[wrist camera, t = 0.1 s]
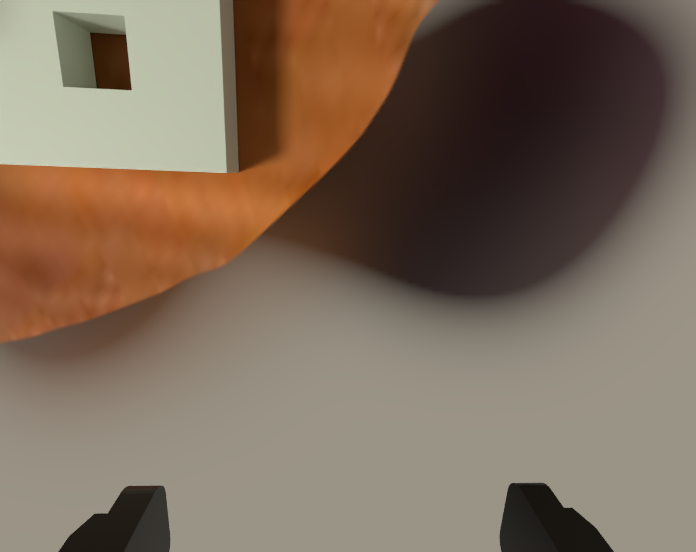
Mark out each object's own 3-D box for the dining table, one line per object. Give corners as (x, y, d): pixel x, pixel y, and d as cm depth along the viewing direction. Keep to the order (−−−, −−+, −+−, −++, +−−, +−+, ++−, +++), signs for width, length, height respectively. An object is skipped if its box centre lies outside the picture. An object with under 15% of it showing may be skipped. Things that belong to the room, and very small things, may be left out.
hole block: (-12, -57, 29) (-70, -96, 25) (231, -39, 31) (216, -73, 26) (26, 163, 34) (-17, 163, 29) (238, 172, 35) (226, 172, 31)
